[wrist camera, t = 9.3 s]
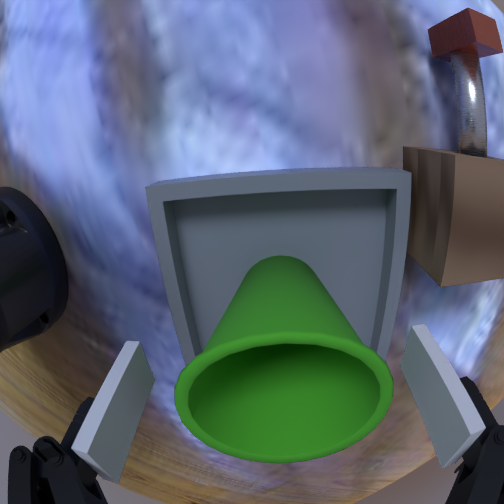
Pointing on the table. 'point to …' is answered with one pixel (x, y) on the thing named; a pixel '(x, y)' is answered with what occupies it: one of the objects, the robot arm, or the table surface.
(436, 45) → the pin
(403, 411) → the table surface
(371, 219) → the tray
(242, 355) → the cup
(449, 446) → the robot arm
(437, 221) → the mount
